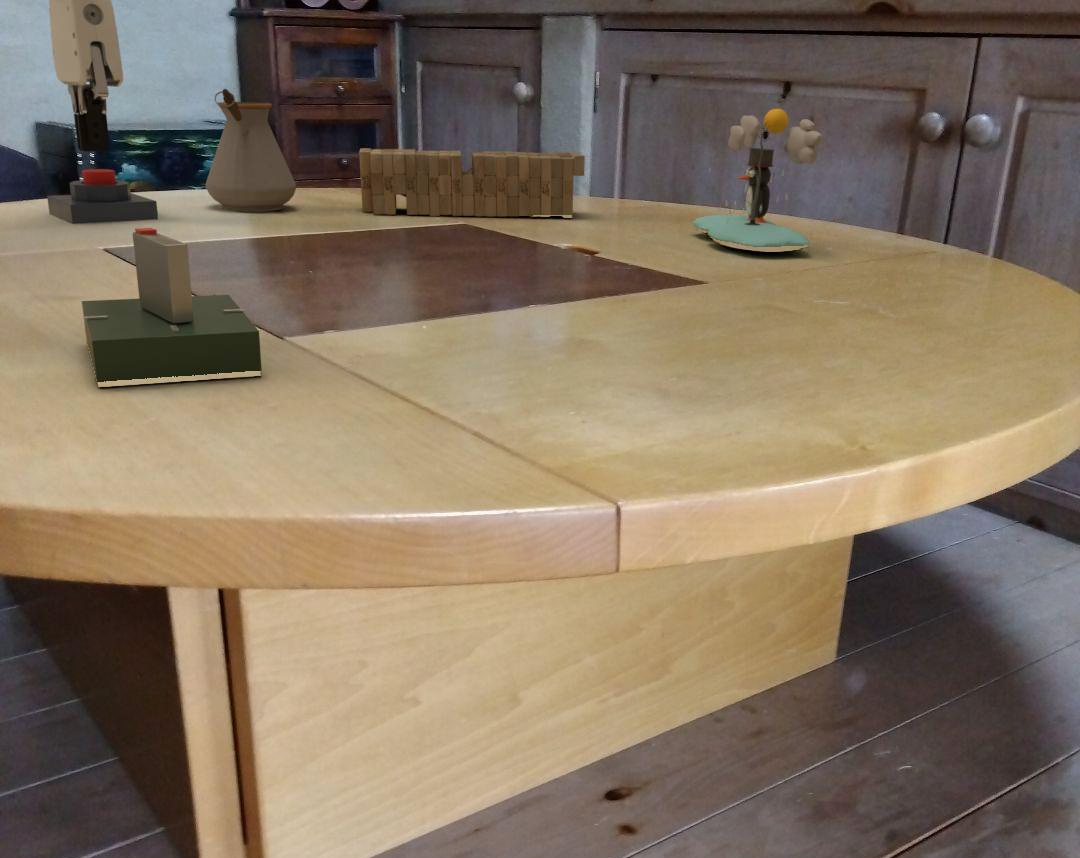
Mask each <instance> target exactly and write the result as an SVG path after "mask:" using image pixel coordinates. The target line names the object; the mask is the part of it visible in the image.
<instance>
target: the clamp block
mask: <svg viewBox="0 0 1080 858" xmlns="http://www.w3.org/2000/svg"><path fill="white" fill-rule="evenodd" d="M192 305H193V317H194V322H189V323H180V324H173V323H171V322H169V321H167V320H165V319H163V318H161V317H159V316H157V315H155V314H153V313H151V312H149V311H147V310H145V309H143V308H141V307H140V299H139V298H123V299H119V298H118V299H97V300H82V301H81V307H82V315H83V324H84V331H85V338H86V345H87V344H88V345H87V349H88V348H89V349H88V352H89V351H90V354H89V356H90V355H91V358H90V360H91V359H92V362H91V364H92V363H93V366H92V368H93V367H94V370H93V372H94V371H95V374H94V376H95V375H96V378H95V380H96V379H97V382H104V381H105V382H106V381H117V380H132V379H145V378H146V379H147V378H158V377H160V378H161V377H172V376H174V377H175V376H176V377H178V376H192V375H194V376H195V375H204V374H205V375H207V374H217V373H218V374H219V373H232V372H245V371H261V370H263V369H262V357H261V356H262V355H261V339H260V331H259V330H258V328H257V327H256V326H255V324H254V323H253V322H252V320H250V319H249V317H248V316H247V315H246V314H245V312H246V309H245V308H240V307H239V305H238V304H237V303H236V302H235V301H234V300H233V298H232V297H231V296H230V295H229V294H215V295H214V294H212V295H210V294H209V295H192ZM97 382H96V383H97Z"/></svg>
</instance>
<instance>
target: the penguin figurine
mask: <svg viewBox="0 0 1080 858" xmlns="http://www.w3.org/2000/svg"><path fill="white" fill-rule="evenodd" d="M788 125H789V117H788V113H787V112H786V110H784V109H781V108H772V109H770V110H769V111H768V112H767V113H766V114H765V116H764V119H763V126H764V128H763V126H761V124H760V120H759V119H758V118H757V116H754V115H752V114H750V115H743V116H742V117H741V118H740V125H732V126H731V127H730V131H729V133H730V136H729V138H728V143H727V145H728V148H729V149H730V150H733V151H735V152H737V153H739V152H741V151H742V149H743V147H744V146H745V147H746V148H748V149H749V156H748V163H746V166H747V168H746V170H745V175H743V176H739V177H735V179H736V180H738V179H739V180H743V181H744V180H745V181H748V183H745V187H744V188H743V189H744V190H743V192H744V193H746V196H745V197H746V198H745V199H744V202H745V207H742V211H741V213H742V214H745V212H746V214H747V215H736V214H731V213H732V210H731V208H729V210H728V214H712V215H710V214H709V215H704V216H701V217H698V218H696V219H694V220H693V222H692V223H691V224H692V227H693V226H694V227H696V228H699V229H701V230H706V231H708V234H707V235H709V236H710V237H712V238H714V239H716V240H720V241H725V242H732V243H737V244H741V245H745V246H753V247H781V246H804V245H809V246H810V241H809V238H808V237H807V236H806V235H805V234H803V233H802V232H800V231H798V230H795V229H792V228H790V227H785V226H782V225H778V224H776V223H774V222H773V221H771V220H768V219H765V218H764V217H765V216H766V215H767V213H768V211H769V207H770V198H771V191H770V187H769V185H768V184H769V183H772V182H773V181H772V180H773V179H774V178H775V176H776V175H775V174H776V173H771V170H770V168H773V167H774V164H773V161H774V153H775V149H774V148H764V147H765V146H767V145H763V144H762V143H763V142H764V141H767V142H768V138H765V139H763V137H764V134H765V132H769V133H770V134H775V135H776V134H781V133H782V132H784V131H785V130H786V128H787V127H788ZM798 125H799V126H792V127H790V128H789V129H788V131H787V141H786V142H785V143H783V145H782V150H783V152H785V153H787V154H789V158H790V160H791V162H792V163H794V164H797V165H803V164H814V163H815V162H816V160H817V157H818V150H817V146H818V145H820V144H821V143H822V142H823V135H822V134H821V133H820V131H817V130H815V127H816V125H815V123H814V122H813V121H812V120H810V119H806V118H805V119H801V121H799V124H798ZM760 129H762V134H761V136H759V132H760ZM765 129H766V130H765ZM757 138H759V139H760V141H759V142H757ZM770 140H773V138H770ZM756 142H757V144H759V146H760V147H754V146H755V145H756ZM708 170H709V171H708V173H709V175H710V173H711V170H712V168H711V167H709V168H708ZM781 176H782V177H784V176H785V169H784V168H782V170H781ZM788 196H789V194H788V193H785V196H784V197H785V201H787V200H788ZM740 199H741V197H740ZM741 200H742V199H741ZM776 202H779V196H776ZM728 203H729V202H728V201H725V208H727V206H728ZM733 204H734V206H737V199H735V200H734V203H733ZM718 210H719V211H721V210H722V206H721V204H720V205H719V209H718ZM694 227H693V228H694ZM709 236H708V237H709ZM710 237H709V238H710Z"/></svg>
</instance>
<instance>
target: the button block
mask: <svg viewBox="0 0 1080 858" xmlns="http://www.w3.org/2000/svg"><path fill="white" fill-rule="evenodd" d="M69 190H70V194H63V195H62V194H61V195H58V194H57V195H47V196H46V198H47V199H46V200H47V205H48V213H49V215H50V216H52V217H55V218H57V219H60V220H62V221H65V222H67V223H68V224H69V223H70V224H72V225H80V224H97V223H99V224H100V223H113V222H114V223H117V222H135V221H151V220H152V221H153V220H154V221H155V220H159V213H158V212H159V211H158V203H157V201H156V200H154V199H152V198H148V197H145V196H142V195H139V194H135V193H133V192H132V191H131V183H130V181H126V180H118V179H116V184H108V185H91V184H84V182H83V179H82V180H81V179H80V180H73V181H70V182H69Z"/></svg>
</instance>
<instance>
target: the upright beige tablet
mask: <svg viewBox="0 0 1080 858" xmlns="http://www.w3.org/2000/svg"><path fill="white" fill-rule="evenodd" d="M132 242H133V251H134V260H135V261H134V262H135V269H136V270H135V271H136V280H137V289H138V297H139V298H138V299H140V307H141V308H143V309H145V310H147V311H149V312H151V313H153V314H155V315H157V316H159V317H161V318H163V319H165V320H167V321H169V322H171V323H173V324H180V323H189V322H194V317H193V305H192V296H193V295H192V284H191V272H190V261H189V248H188V244H187V243H185V242H182V241H179V240H177V239H175V238H172V237H169V236H166V235H164V234H161V233H158V230H157V229H155V228H153V227H142V228H134V231H133V232H132Z"/></svg>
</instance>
